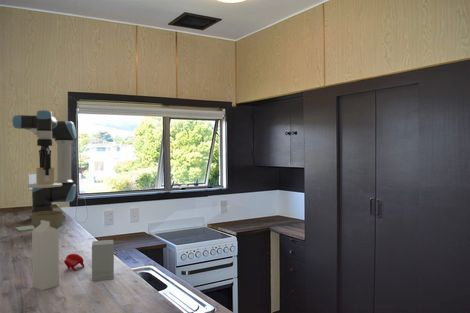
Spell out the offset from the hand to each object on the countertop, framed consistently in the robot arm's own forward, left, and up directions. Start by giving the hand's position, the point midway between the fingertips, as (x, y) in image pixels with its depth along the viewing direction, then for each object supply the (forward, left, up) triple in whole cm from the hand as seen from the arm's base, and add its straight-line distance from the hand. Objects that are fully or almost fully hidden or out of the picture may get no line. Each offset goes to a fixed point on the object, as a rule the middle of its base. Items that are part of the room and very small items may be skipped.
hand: (45, 181), depth 216 cm
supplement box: (+95, -8, -29) cm, 100 cm away
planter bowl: (+1, 0, -29) cm, 29 cm away
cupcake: (-17, +11, -29) cm, 35 cm away
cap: (+78, -12, -29) cm, 84 cm away
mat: (-18, -5, -28) cm, 34 cm away
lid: (0, 0, -3) cm, 3 cm away
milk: (+91, -26, -29) cm, 99 cm away
